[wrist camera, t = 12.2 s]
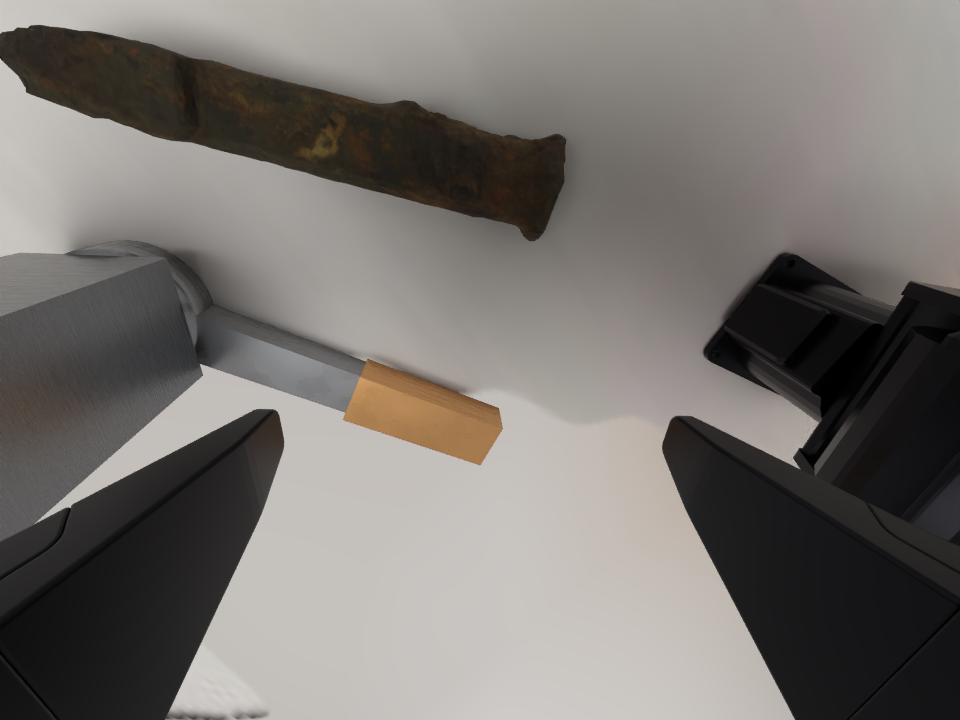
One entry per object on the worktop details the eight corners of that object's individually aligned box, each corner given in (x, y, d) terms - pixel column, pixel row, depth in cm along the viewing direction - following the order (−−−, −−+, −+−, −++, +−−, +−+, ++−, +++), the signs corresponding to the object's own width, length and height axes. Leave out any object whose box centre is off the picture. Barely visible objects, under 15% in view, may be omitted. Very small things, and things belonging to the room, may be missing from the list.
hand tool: (557, 143, 17) (591, 137, 13) (528, 234, 19) (550, 254, 15) (66, -22, 14) (-95, -99, 10) (82, 106, 16) (-50, 85, 12)
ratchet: (511, 386, 23) (526, 442, 18) (467, 461, 25) (470, 526, 21) (80, 217, 17) (-47, 237, 13) (75, 331, 20) (-35, 383, 15)
